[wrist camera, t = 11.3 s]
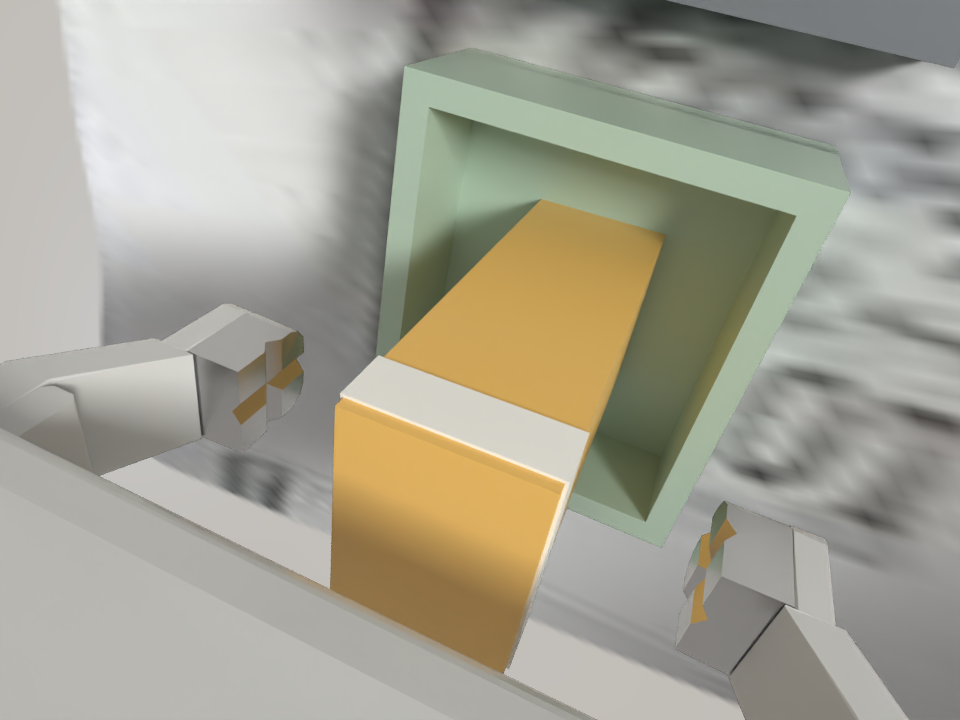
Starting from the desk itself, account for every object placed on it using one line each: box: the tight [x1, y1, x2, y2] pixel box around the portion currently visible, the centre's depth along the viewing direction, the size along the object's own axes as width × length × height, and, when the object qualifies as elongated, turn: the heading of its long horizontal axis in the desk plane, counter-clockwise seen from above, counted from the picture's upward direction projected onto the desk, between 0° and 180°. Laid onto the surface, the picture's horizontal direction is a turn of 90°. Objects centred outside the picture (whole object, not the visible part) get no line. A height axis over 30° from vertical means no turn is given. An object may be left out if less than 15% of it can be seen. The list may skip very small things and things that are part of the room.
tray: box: [375, 48, 851, 548], centre depth 15 cm, size 8×9×3 cm
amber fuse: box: [330, 199, 666, 674], centre depth 12 cm, size 3×4×9 cm
